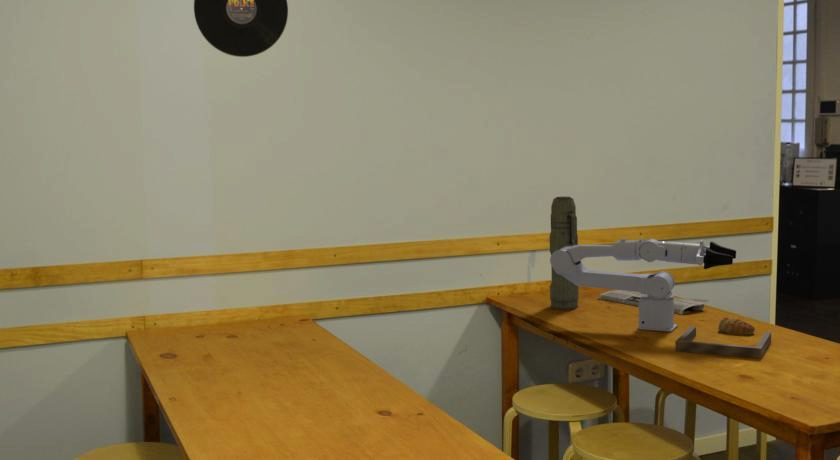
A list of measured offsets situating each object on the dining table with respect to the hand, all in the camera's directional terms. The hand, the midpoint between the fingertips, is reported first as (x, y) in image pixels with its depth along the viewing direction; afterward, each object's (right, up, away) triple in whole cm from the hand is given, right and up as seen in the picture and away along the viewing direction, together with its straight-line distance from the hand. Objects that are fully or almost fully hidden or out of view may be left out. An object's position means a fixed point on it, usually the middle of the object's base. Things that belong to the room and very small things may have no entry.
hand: (734, 257), depth 264 cm
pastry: (+2, -21, +4) cm, 22 cm away
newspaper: (-11, -17, +44) cm, 49 cm away
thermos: (-40, -17, +43) cm, 62 cm away
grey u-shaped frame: (-6, -23, -11) cm, 26 cm away
